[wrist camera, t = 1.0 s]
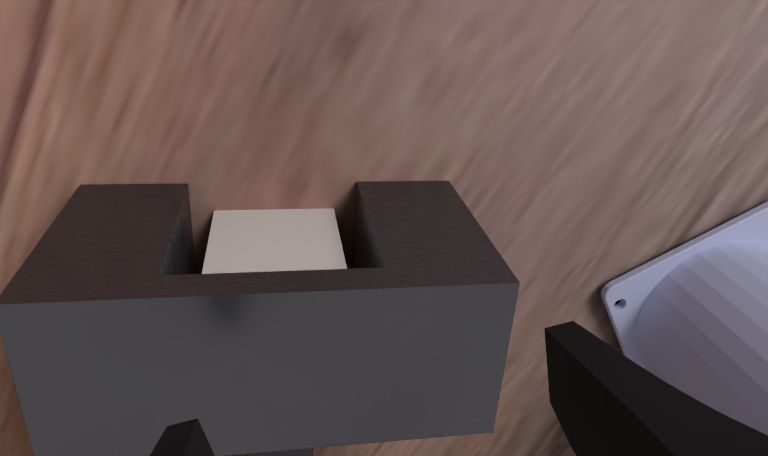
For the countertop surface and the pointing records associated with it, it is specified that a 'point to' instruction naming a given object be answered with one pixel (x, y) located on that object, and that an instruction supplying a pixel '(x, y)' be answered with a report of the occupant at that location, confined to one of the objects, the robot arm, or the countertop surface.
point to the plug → (274, 249)
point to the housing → (256, 329)
